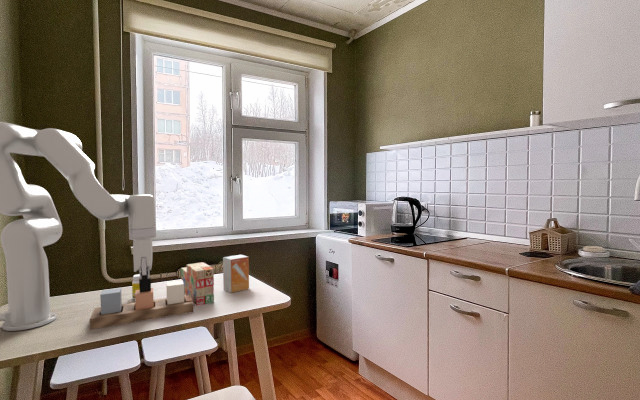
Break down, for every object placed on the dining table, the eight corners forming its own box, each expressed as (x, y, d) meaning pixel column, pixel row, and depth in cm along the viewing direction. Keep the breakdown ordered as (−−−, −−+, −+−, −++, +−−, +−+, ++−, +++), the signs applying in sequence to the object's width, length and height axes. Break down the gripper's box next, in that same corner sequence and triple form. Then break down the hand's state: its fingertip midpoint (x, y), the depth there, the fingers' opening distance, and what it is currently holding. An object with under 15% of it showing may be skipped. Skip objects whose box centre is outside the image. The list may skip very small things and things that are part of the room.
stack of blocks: (181, 291, 134) (180, 260, 133) (197, 288, 137) (196, 258, 137) (196, 306, 116) (195, 270, 116) (214, 302, 120) (213, 267, 119)
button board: (90, 329, 98) (89, 317, 97) (95, 317, 106) (94, 306, 106) (193, 312, 110) (193, 301, 110) (190, 303, 119) (190, 293, 119)
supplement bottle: (140, 300, 123) (140, 277, 123) (129, 299, 124) (128, 276, 124) (149, 296, 128) (149, 273, 127) (138, 295, 129) (138, 273, 128)
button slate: (101, 314, 101) (100, 294, 101) (103, 309, 105) (102, 290, 105) (120, 311, 103) (119, 292, 103) (121, 306, 107) (121, 287, 107)
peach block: (135, 313, 105) (135, 294, 105) (136, 308, 109) (135, 290, 109) (153, 310, 107) (153, 292, 107) (153, 306, 112) (153, 288, 111)
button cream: (167, 304, 109) (166, 286, 109) (166, 300, 113) (166, 282, 113) (184, 302, 111) (183, 283, 111) (182, 297, 115) (182, 280, 115)
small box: (231, 293, 129) (230, 259, 129) (223, 289, 134) (222, 257, 134) (249, 288, 135) (249, 256, 135) (241, 285, 140) (240, 254, 139)
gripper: (130, 232, 112) (133, 286, 113) (127, 237, 99) (130, 299, 100) (155, 230, 116) (158, 283, 116) (156, 235, 102) (159, 295, 103)
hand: (145, 290), depth 108 cm, fingers closed
